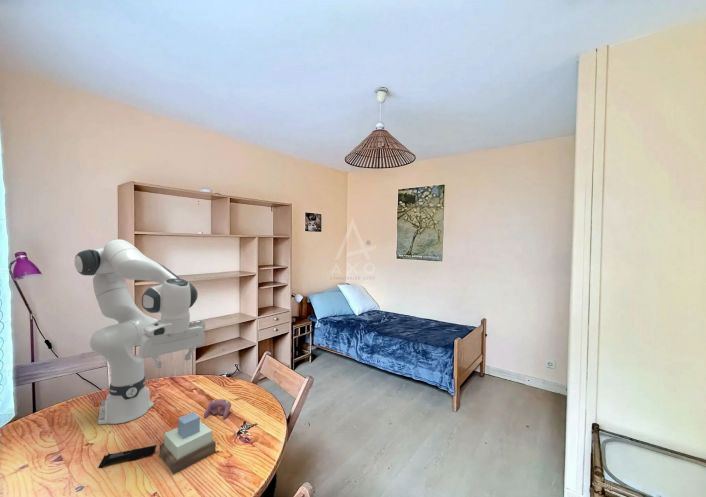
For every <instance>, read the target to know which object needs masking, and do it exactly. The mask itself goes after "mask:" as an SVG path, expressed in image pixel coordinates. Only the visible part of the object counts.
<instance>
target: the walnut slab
mask: <svg viewBox="0 0 706 497" xmlns="http://www.w3.org/2000/svg"><path fill="white" fill-rule="evenodd" d="M215 453H216V441H215V440H214V439H213V438H212V442H211V443H209V444H207V445H205V446H203V447H201V448H200V449H198V450H196V451H194V452H192V453H190V454H188V455H186V456H184V457H182V458H180V459H178V460H177V459H176V458H175V457H174V456H173V455H172V454H171V452H170V451H169V450H168V449H167V448H166V447H165V445H164V442H161V444H160V443H159V456H160V458H161V459H162V461H163V462H164V464H165V465H166V466H167V467H168V469H169V470H170V472H171V473H172V474H173V475H176V474H177V473H179V472H181V471H183V470H185V469H187V468H189V467H190V466H193V465H194V464H196V463H198V462H200V461H202V460H204V459H206V458H208V457H210V456H211V455H213V454H215Z"/></svg>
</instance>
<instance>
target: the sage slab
mask: <svg viewBox="0 0 706 497" xmlns="http://www.w3.org/2000/svg"><path fill="white" fill-rule="evenodd" d="M163 436H164V437H163V443H164V445H165V447H166V448H167V449H168V450H169V451H170V452H171V454H172V455H173V456H174V457H175V458H176V459H177V460H178V459H180V458H182V457H184V456H186V455H188V454H190V453H192V452H194V451H196V450H198V449H200V448H201V447H203V446H205V445H207V444H209V443H211V442H212V439H213V430H212V429H211V428H209V426H207V425H206V424H205V423H204V422H203V421H201V420H200V432H198V433H196V434H193V435H191V436H189V437H187V438H185V439H184V438H183V437H182V436H181V435H180V434H179V433H178V426H177V427H176V428H173V429H171V430H169V431H166V432H164V434H163Z"/></svg>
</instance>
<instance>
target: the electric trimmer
mask: <svg viewBox="0 0 706 497" xmlns="http://www.w3.org/2000/svg"><path fill="white" fill-rule="evenodd" d="M157 446H158V445H157V444H155V445H150V446H144V447H140V448H135V449H130V450H123V451H120V452H115V453H108V454H107V455H105V454H104V456H103V458H102V459H101V462H100V463H99V465H98V468H100V469H102V468H104V466H105V467H106V466H108V465H113V464H118V463H120V462H121V463H122V462H125V461H132V462H133V461H135V460H138V459H141V458H144V457H147V456H150V455H154V453H155V451H156V449H157Z"/></svg>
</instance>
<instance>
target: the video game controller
mask: <svg viewBox="0 0 706 497" xmlns="http://www.w3.org/2000/svg"><path fill="white" fill-rule="evenodd" d="M231 407H232V403H231V402H230V401H228V400H226V399H222V398H221V399H213V400H211V401H210V402H209V403H208V405H207V407H206V409H205V411H204V414H203V417H204V418H205V419H206V418H207V417H208V416H210V415H209V414H212V415H217V414H219V415H221V416H222V415H223V417H222V418H223V419H224V420H225V419H227V417H228V415H229V413H230V409H231Z"/></svg>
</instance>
